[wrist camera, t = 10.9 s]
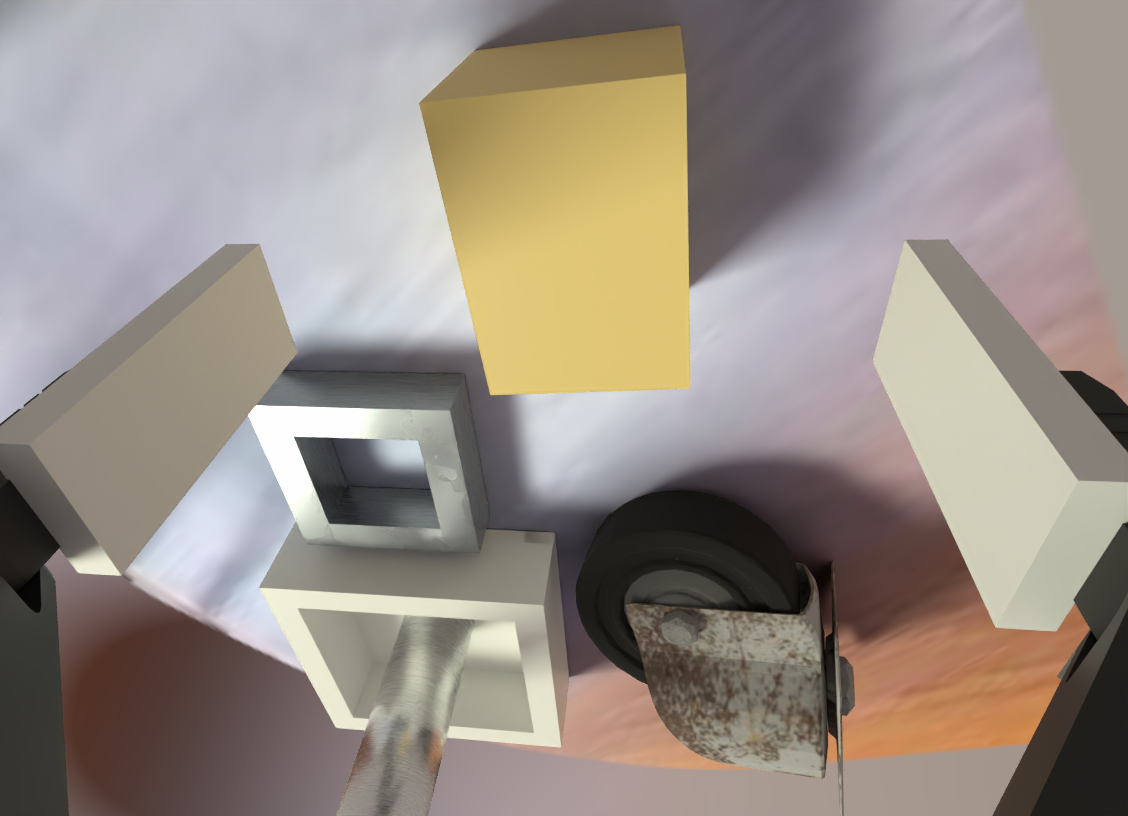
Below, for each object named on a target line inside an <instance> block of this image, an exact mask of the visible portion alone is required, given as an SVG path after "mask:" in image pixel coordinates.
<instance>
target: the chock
mask: <svg viewBox="0 0 1128 816" xmlns="http://www.w3.org/2000/svg"><path fill="white" fill-rule="evenodd" d="M419 104H420V108H421V112H422V116H423V121H424V125H425V129H426V133H427V137H428V141H429V145H430V149H431V153H432V157H433V162H434V166H435V170H436V174H437V178H438V182H439V186H440V190H441V194H442V199H443V203H444V207H445V211H446V215H447V219H448V223H449V227H450V231H451V235H452V240H453V244H454V248H455V252H456V256H457V260H458V264H459V268H460V272H461V276H462V281H463V285H464V289H465V293H466V297H467V301H468V305H469V309H470V313H471V318H472V322H473V326H474V330H475V334H476V338H477V342H478V346H479V350H480V354H481V359H482V363H483V367H484V371H485V375H486V379H487V383H488V387H489V391H490V395H512V394H542V393H572V392H603V391H633V390H663V389H690V319H689V246H688V173H687V100H686V68H685V60H684V52H683V43H682V35H681V27H680V25H676V26H668V27H660V28H652V29H643V30H635V31H627V32H619V33H611V34H603V35H595V36H587V37H579V38H571V39H563V40H555V41H546V42H538V43H530V44H522V45H514V46H506V47H498V48H490V49H482V50H475V51H474V52H473V53H471V54H470V55H469V56H468V57H467V58H466V59H465V60H464V61H463V62H462V63H461V64H460V65H459V66H458V67H457V68H456V69H455V70H454V71H452V72H451V73H450V74H449V75H448V76H447V77H446V78H445V79H444V80H443V81H442V82H441V83H440V84H439V85H438V86H437V87H436V88H435V89H433V90H432V91H431V92H430V93H429V94H428V95H427V96H426V97H425V98H424V99H423V100H422V101H421V102H420V103H419Z"/></svg>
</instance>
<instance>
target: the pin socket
mask: <svg viewBox="0 0 1128 816" xmlns="http://www.w3.org/2000/svg"><path fill="white" fill-rule="evenodd" d="M249 417H250V420H251V422H252V424H253V426H254V429H255V431H256V433H257V435H258V437H259V440H260V442H261V444H262V446H263V449H264V451H265V453H266V455H267V457H268V460H269V462H270V464H271V466H272V469H273V471H274V473H275V475H276V477H277V480H278V482H279V484H280V486H281V488H282V491H283V493H284V495H285V497H286V500H287V502H288V504H289V506H290V508H291V511H292V513H293V515H294V517H295V520H296V522H297V524H298V526H299V528H300V531H301V533H302V535H303V537H304V540H305V542H306V544H307V545H325V546H344V547H363V548H382V549H401V550H420V551H439V552H458V553H477V554H480V551H481V547H482V543H483V539H484V536H485V532H486V528H487V524H488V520H489V517H490V512H489V506H488V501H487V495H486V490H485V485H484V479H483V474H482V468H481V463H480V457H479V452H478V446H477V441H476V436H475V430H474V425H473V419H472V414H471V408H470V403H469V397H468V392H467V387H466V381H465V376H464V374H432V373H380V372H327V371H283V372H282V373H281V374H280V376H279V377H278V378H277V379H276V381H275V382H274V383H273V384H272V386H271V387H270V388H269V389H268V391H267V392H266V393H265V395H264V396H263V397H262V398H261V400H260V401H259V402H258V403H257V405H256V406H255V407H254V408H253V410H252V411H251V412H250V414H249ZM331 438H360V439H391V440H418V441H419V445H420V449H421V453H422V457H423V461H424V465H425V469H426V473H427V477H428V481H429V484H430V488H431V490H423V489H399V488H375V487H350V486H348V485H347V482H346V480H345V477H344V474H343V471H342V469H341V466H340V463H339V460H338V458H337V455H336V452H335V449H334V447H333V444H332V441H331Z"/></svg>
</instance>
